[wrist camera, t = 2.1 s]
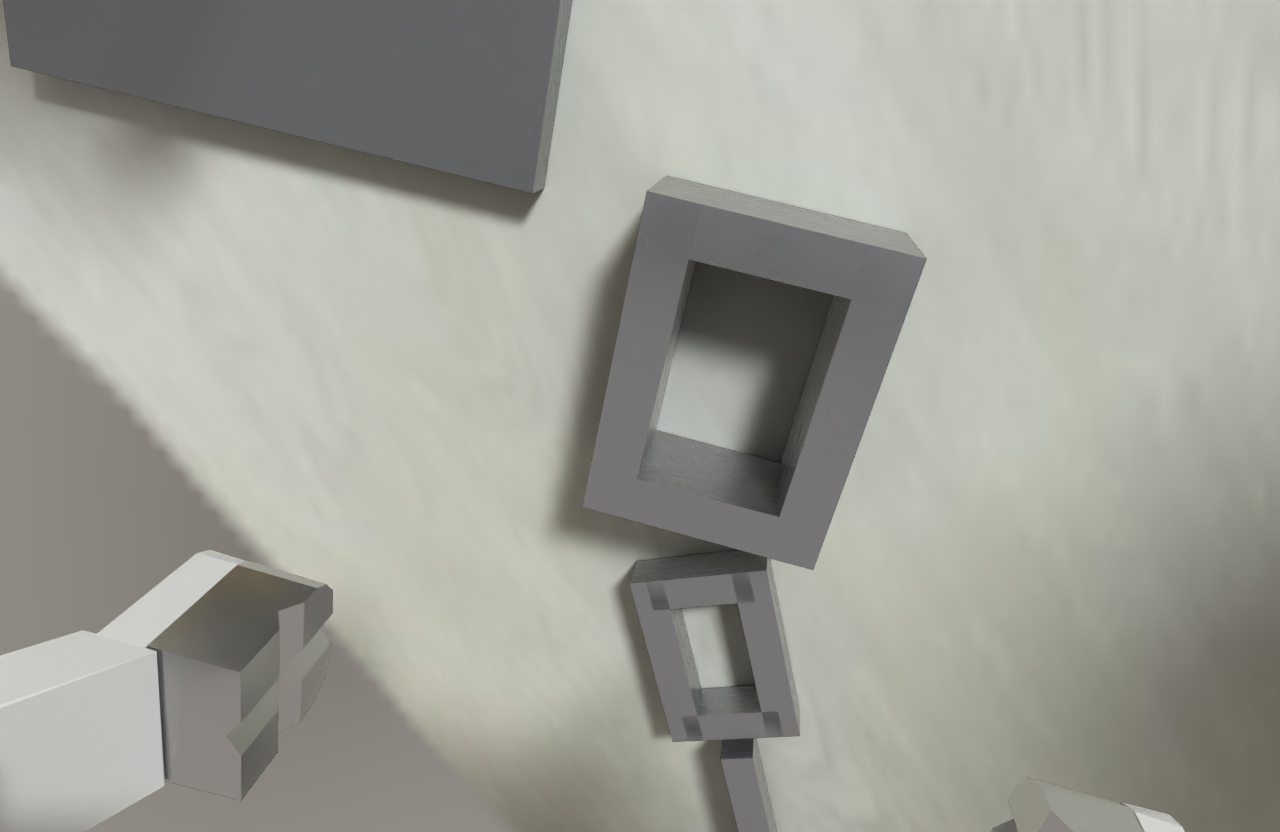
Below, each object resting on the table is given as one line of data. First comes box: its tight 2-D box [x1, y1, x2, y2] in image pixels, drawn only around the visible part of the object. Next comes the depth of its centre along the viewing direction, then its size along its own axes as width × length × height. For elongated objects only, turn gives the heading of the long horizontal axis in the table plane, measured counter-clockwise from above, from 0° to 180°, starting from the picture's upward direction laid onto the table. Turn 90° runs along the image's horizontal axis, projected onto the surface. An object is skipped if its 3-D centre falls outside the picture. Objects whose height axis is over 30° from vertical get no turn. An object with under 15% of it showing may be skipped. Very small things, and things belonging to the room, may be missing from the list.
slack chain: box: [630, 550, 800, 832], centre depth 25 cm, size 5×17×4 cm, turn 13°
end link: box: [582, 176, 927, 570], centre depth 19 cm, size 6×8×3 cm
